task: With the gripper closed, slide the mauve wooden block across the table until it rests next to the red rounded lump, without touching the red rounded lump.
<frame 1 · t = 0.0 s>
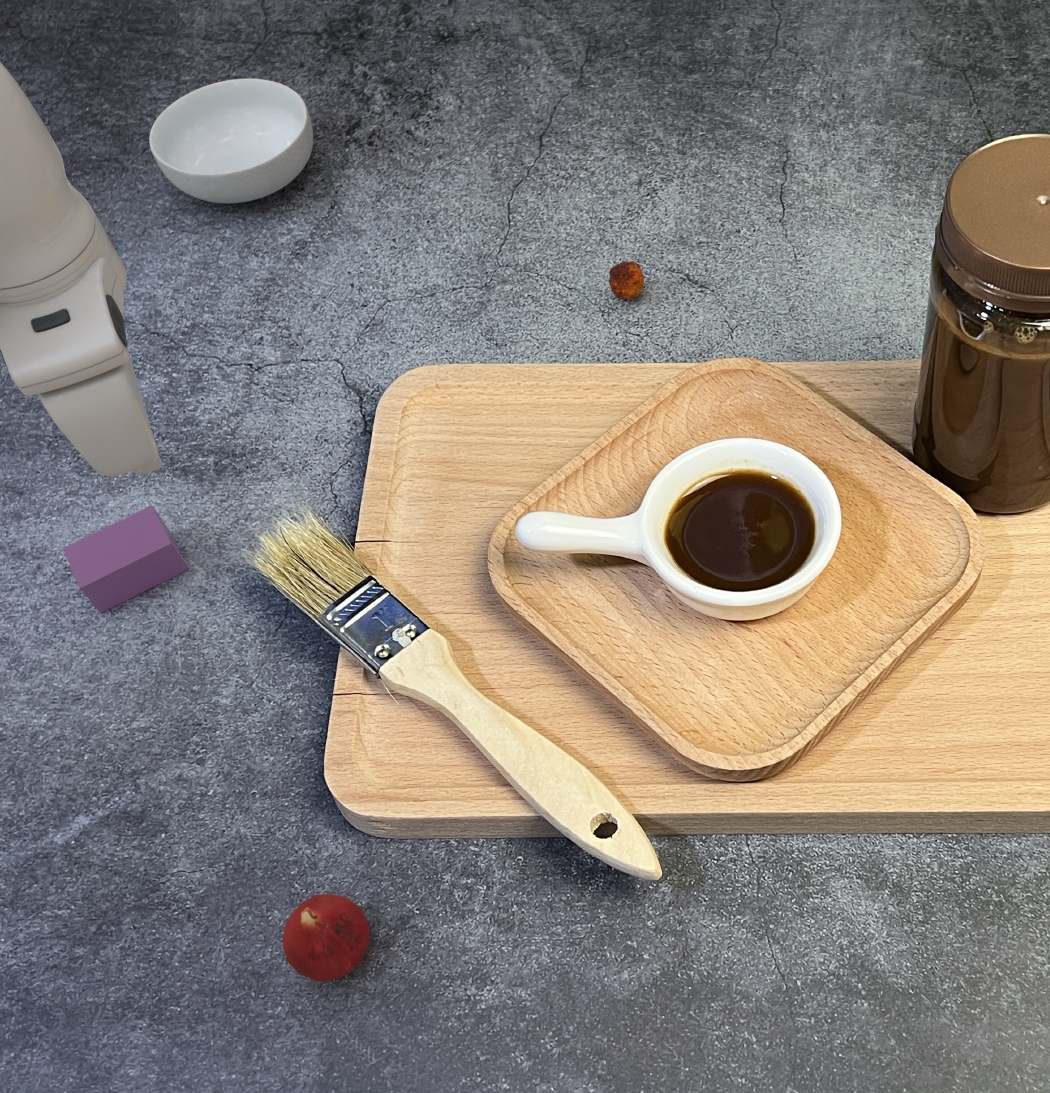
hand: (136, 418, 92), 24 cm above the worktop, tool pointing down, fingers open, 8 cm apart
meatball: (628, 296, 131), on the worktop
red rounded lump: (342, 954, 94), on the worktop
block: (136, 571, 114), on the worktop
cereal bowl: (251, 178, 144), on the worktop
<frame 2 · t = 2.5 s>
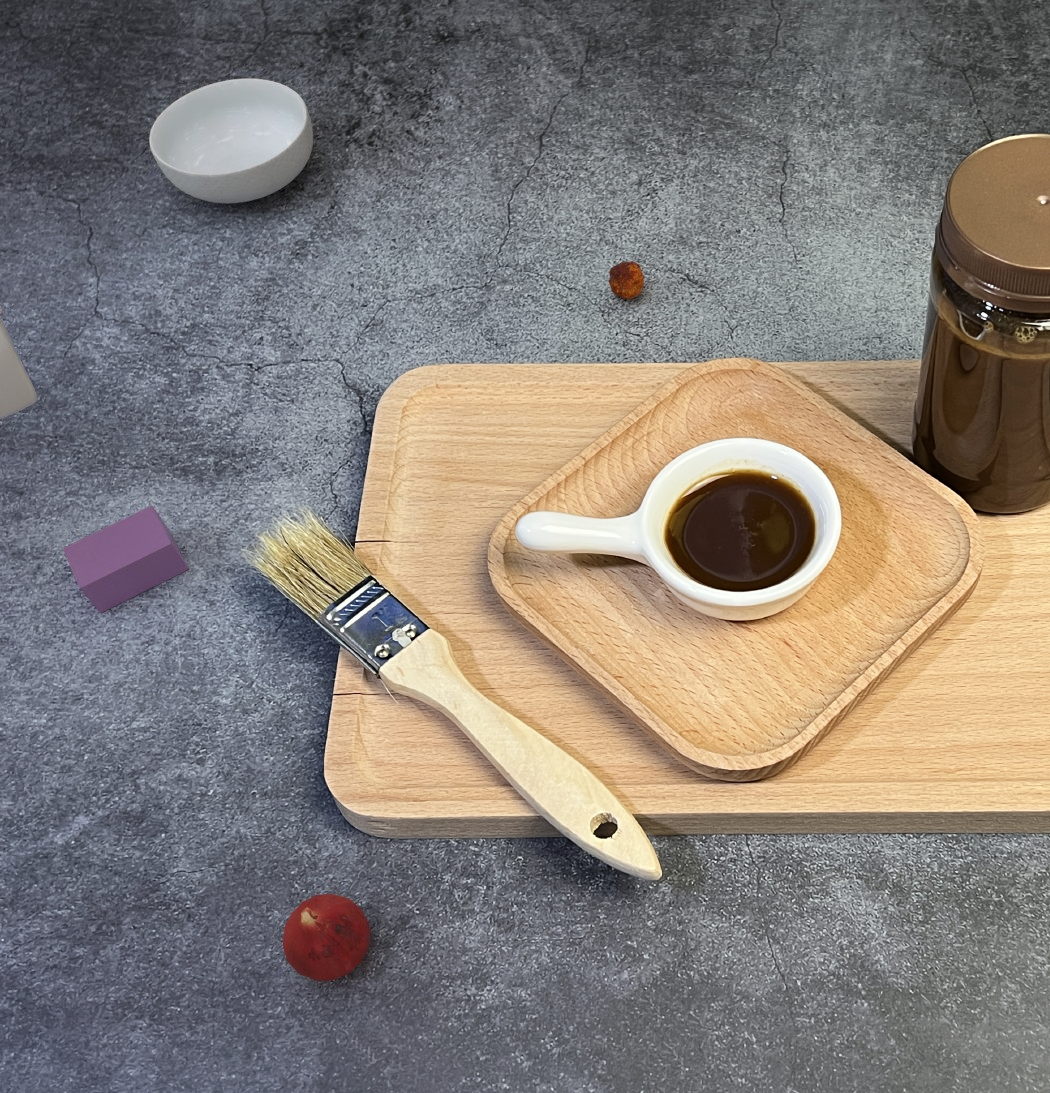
hand: (14, 377, 105), 17 cm above the worktop, tool pointing down, fingers closed
nothing on the worktop moved.
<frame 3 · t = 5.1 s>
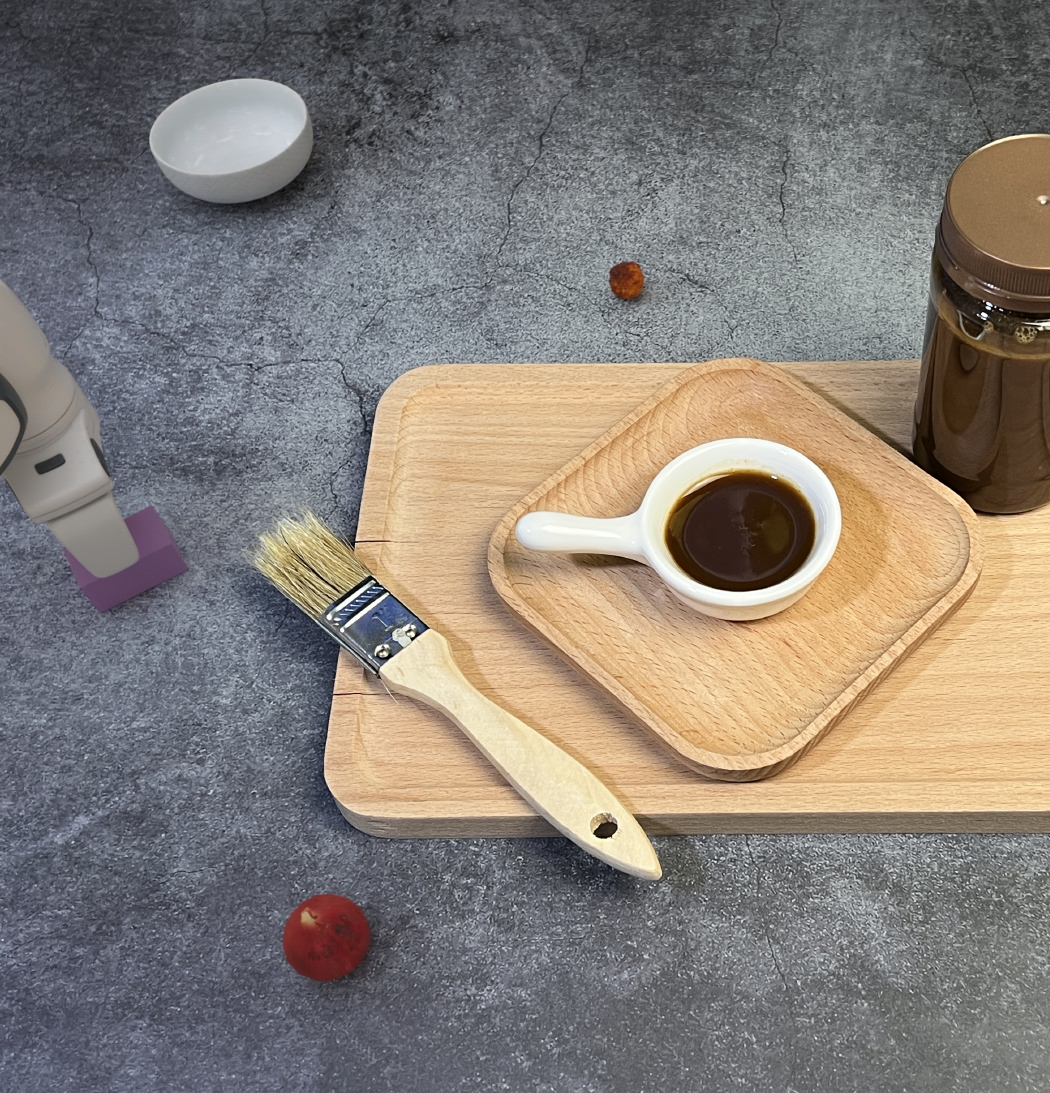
hand: (110, 527, 114), 2 cm above the worktop, tool pointing down, fingers closed
block: (136, 571, 114), on the worktop, touching gripper
everything else where it was.
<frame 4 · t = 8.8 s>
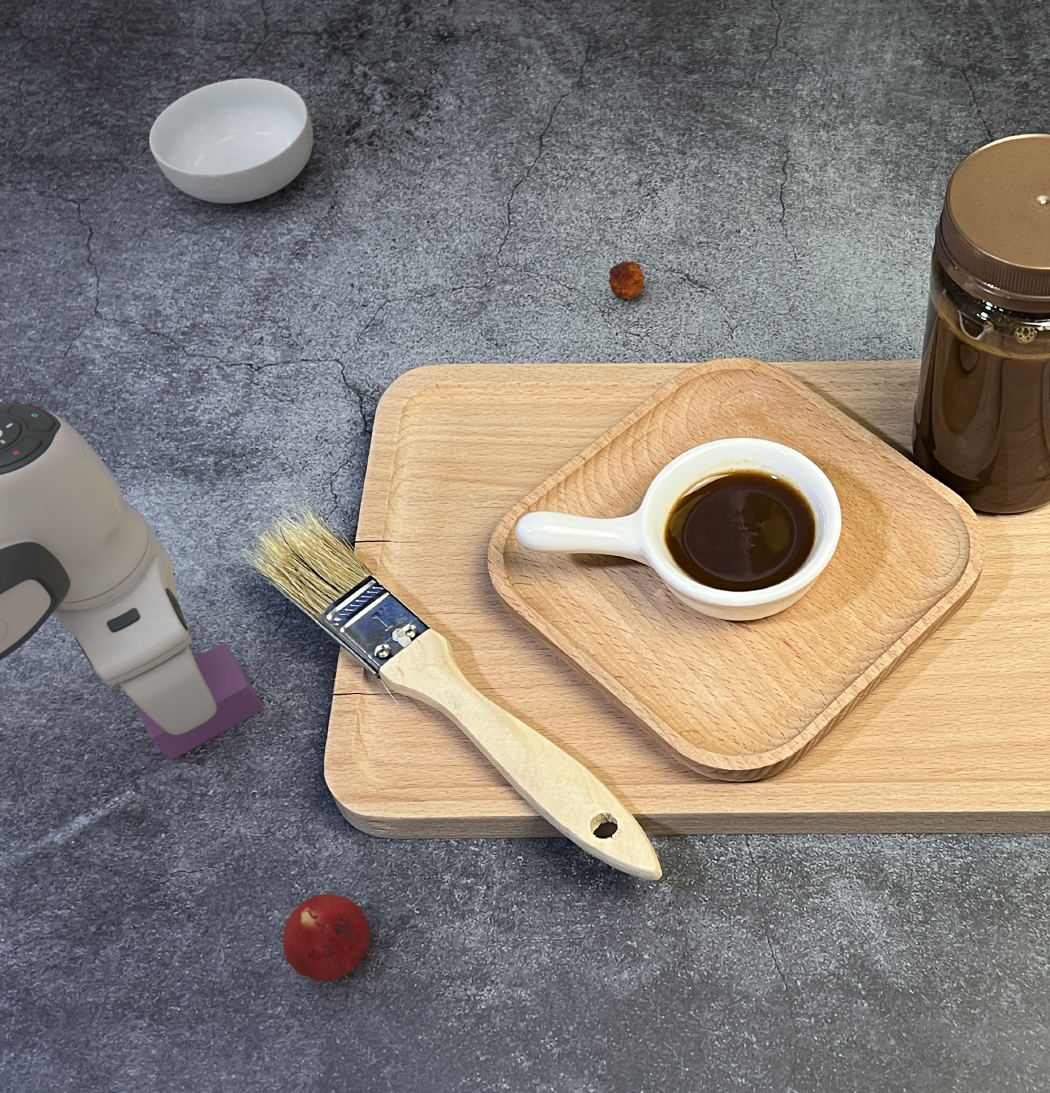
hand: (178, 665, 106), 2 cm above the worktop, tool pointing down, fingers closed
block: (207, 712, 106), on the worktop, touching gripper
everything else where it was.
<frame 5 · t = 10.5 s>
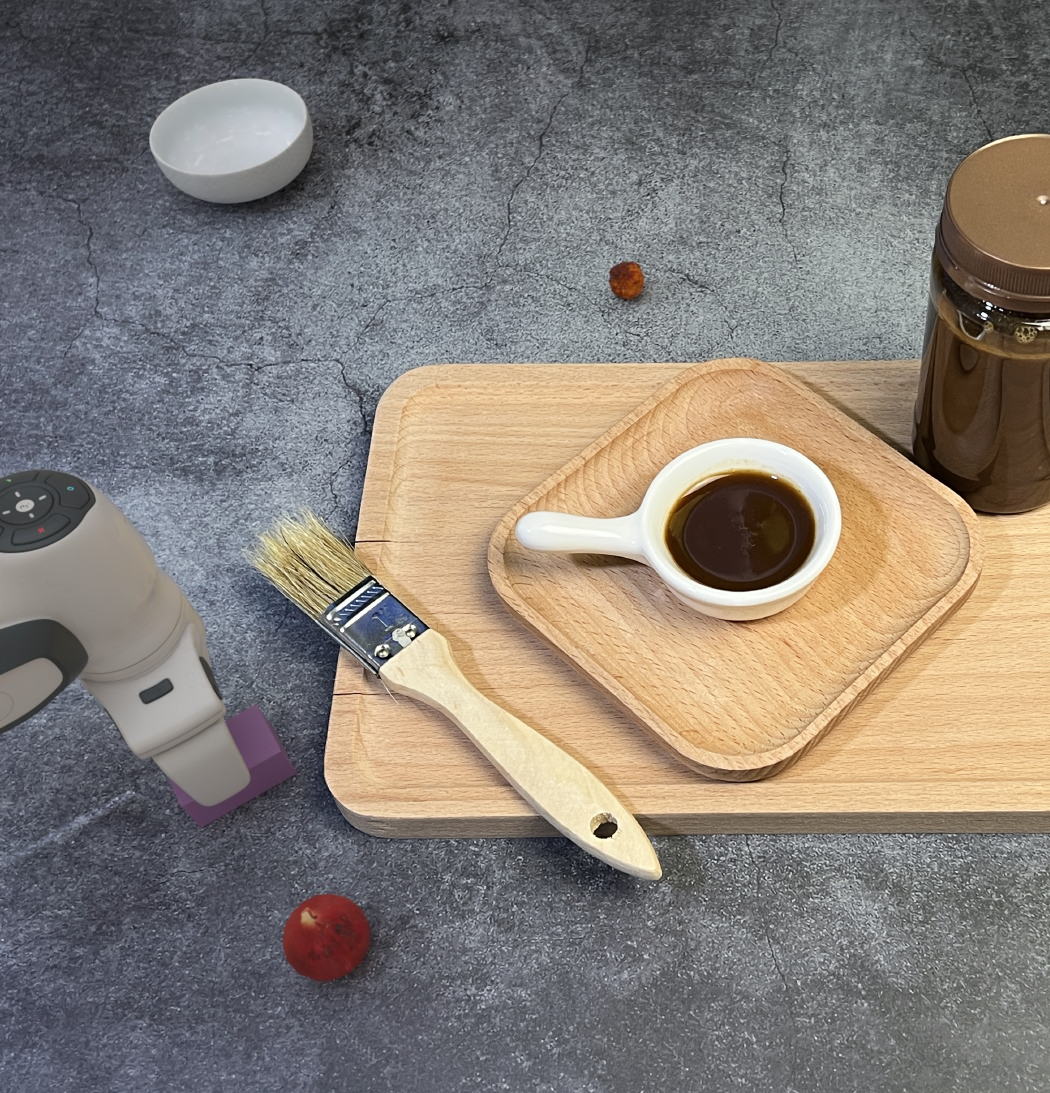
hand: (208, 728, 102), 2 cm above the worktop, tool pointing down, fingers closed
block: (237, 776, 102), on the worktop, touching gripper
everything else where it was.
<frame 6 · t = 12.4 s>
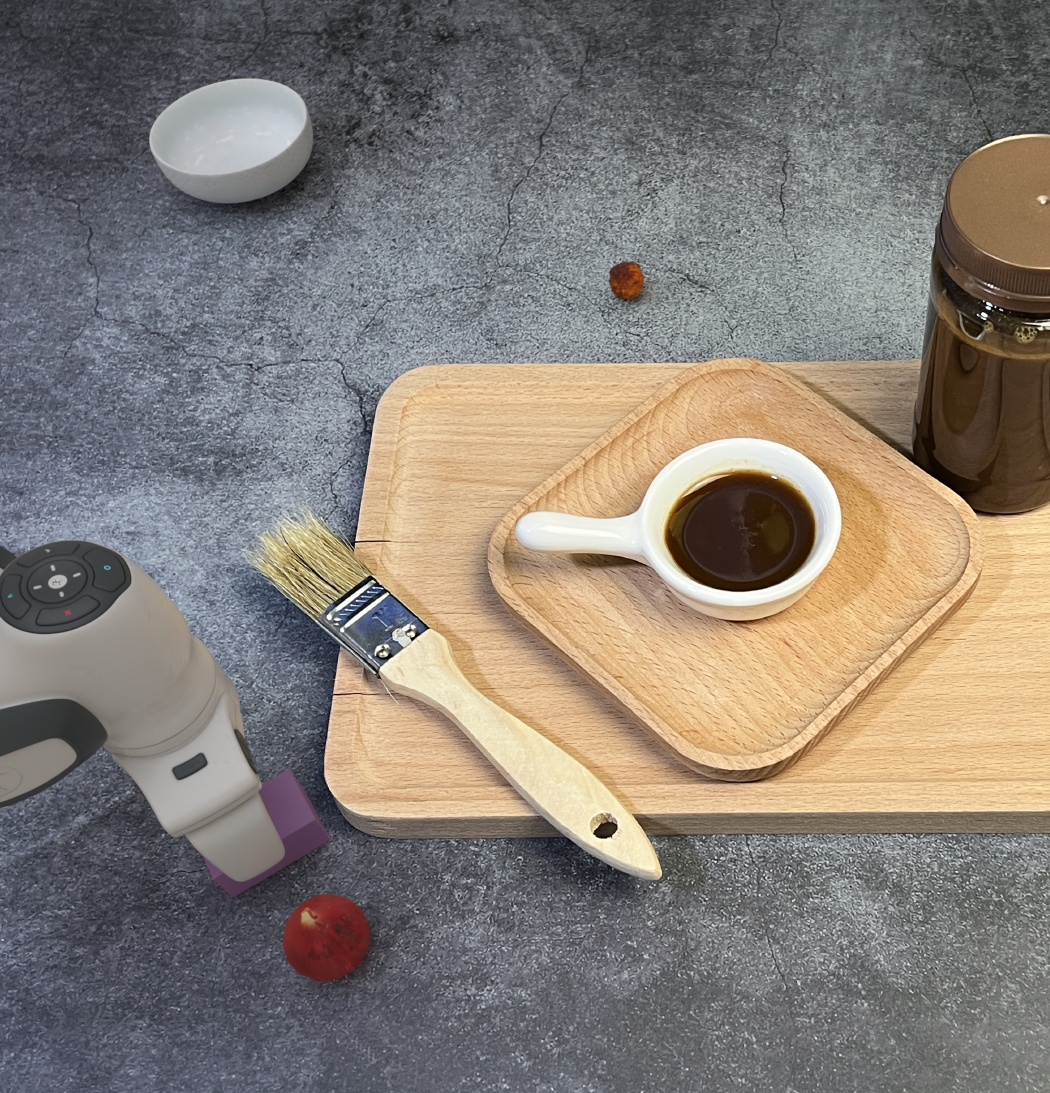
hand: (238, 793, 99), 2 cm above the worktop, tool pointing down, fingers closed
block: (269, 843, 99), on the worktop, touching gripper
everything else where it was.
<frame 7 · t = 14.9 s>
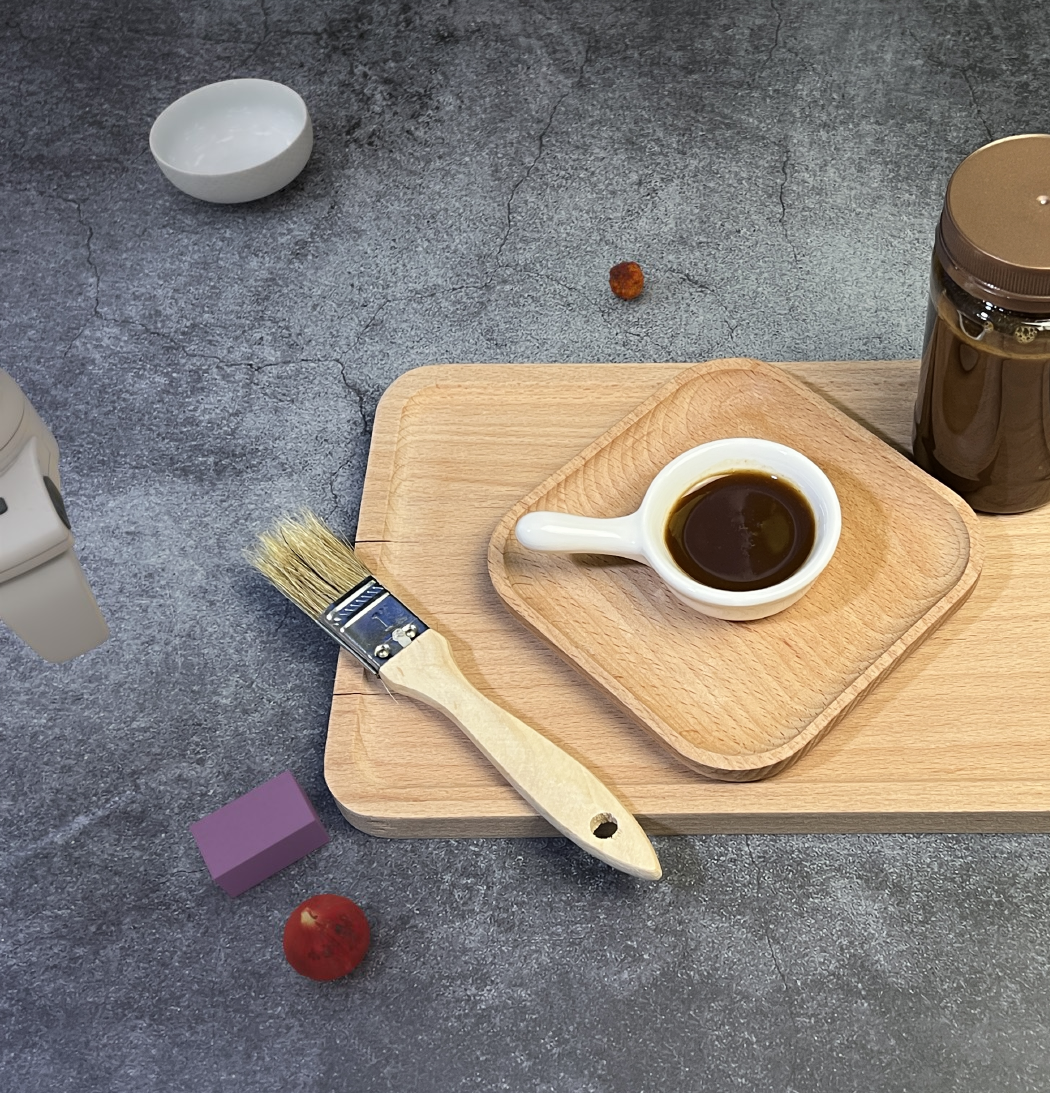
hand: (73, 586, 87), 22 cm above the worktop, tool pointing down, fingers closed
block: (269, 843, 99), on the worktop
everything else where it was.
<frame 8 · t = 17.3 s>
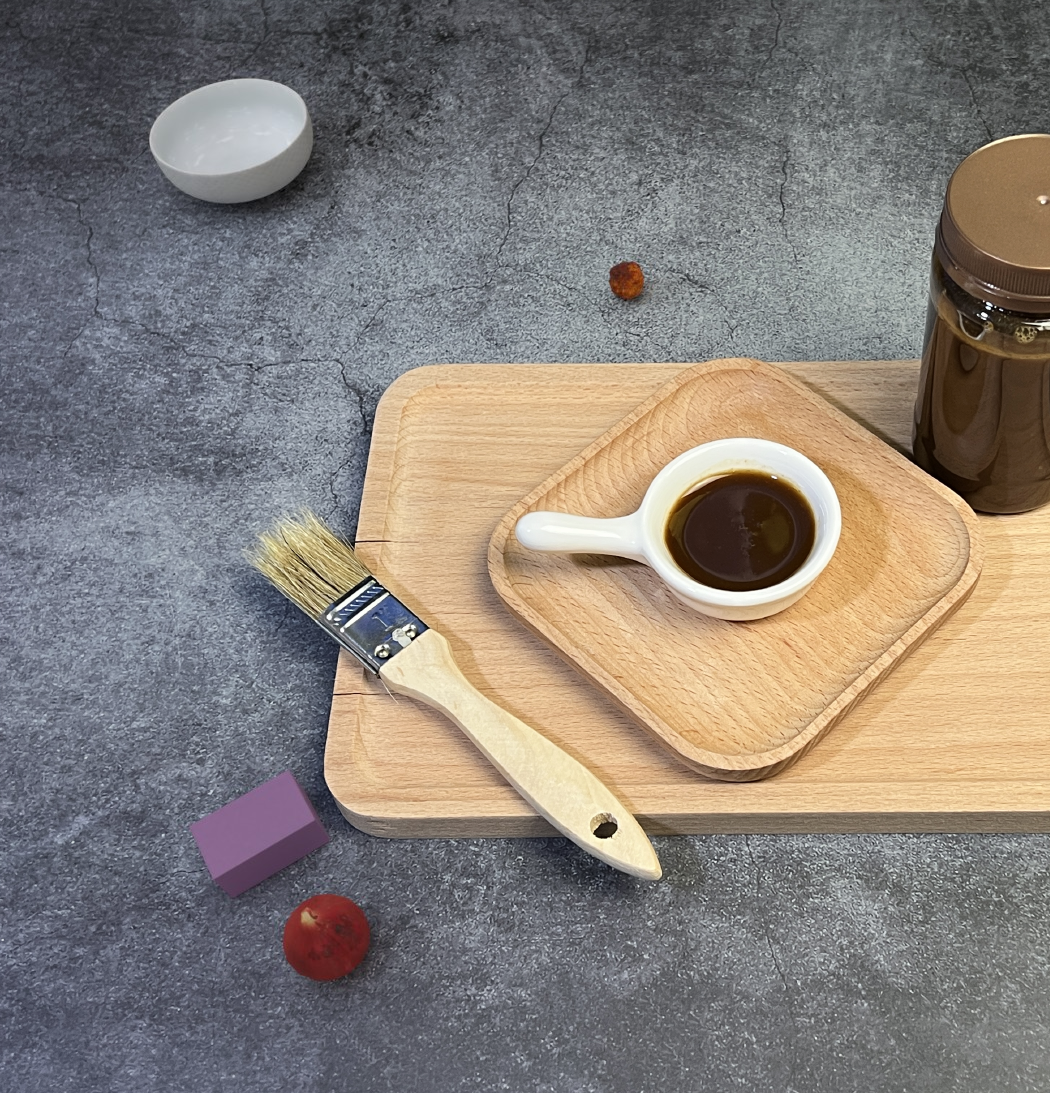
nothing on the worktop moved.
at the end: block 11.0 cm from the red rounded lump (horizontally); block moved 30.6 cm from its start; red rounded lump moved 0.2 cm from its start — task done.
